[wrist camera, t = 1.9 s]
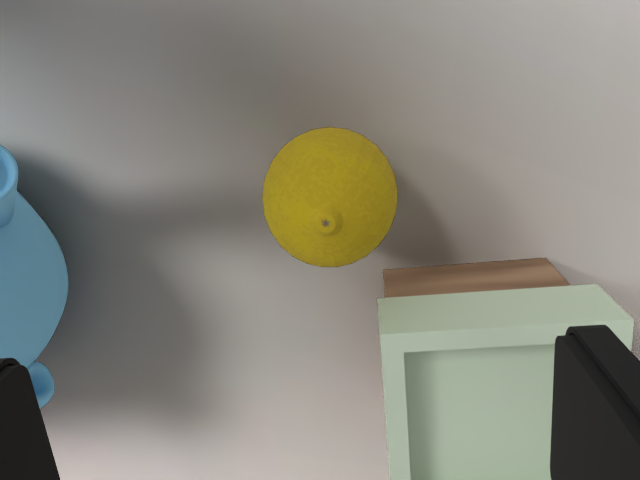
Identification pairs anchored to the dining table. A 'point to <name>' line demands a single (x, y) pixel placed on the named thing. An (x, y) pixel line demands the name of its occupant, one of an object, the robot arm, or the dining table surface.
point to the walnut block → (471, 277)
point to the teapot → (28, 281)
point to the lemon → (329, 197)
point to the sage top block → (479, 378)
